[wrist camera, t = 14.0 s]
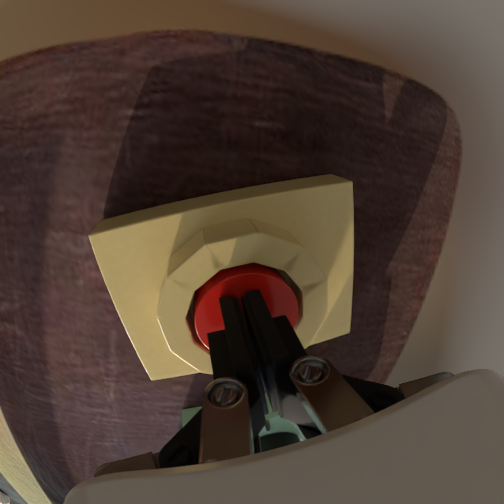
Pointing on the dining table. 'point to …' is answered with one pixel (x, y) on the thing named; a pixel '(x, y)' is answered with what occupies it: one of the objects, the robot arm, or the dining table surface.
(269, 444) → the knob
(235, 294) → the button
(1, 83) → the dining table surface
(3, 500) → the garlic
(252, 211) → the button block
